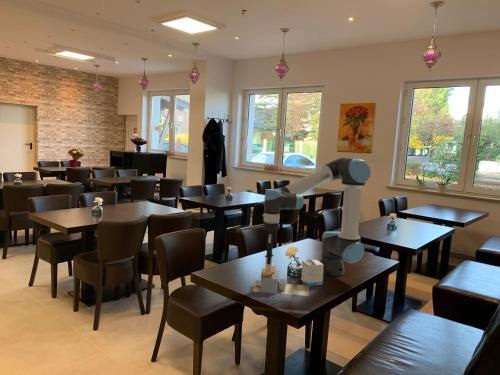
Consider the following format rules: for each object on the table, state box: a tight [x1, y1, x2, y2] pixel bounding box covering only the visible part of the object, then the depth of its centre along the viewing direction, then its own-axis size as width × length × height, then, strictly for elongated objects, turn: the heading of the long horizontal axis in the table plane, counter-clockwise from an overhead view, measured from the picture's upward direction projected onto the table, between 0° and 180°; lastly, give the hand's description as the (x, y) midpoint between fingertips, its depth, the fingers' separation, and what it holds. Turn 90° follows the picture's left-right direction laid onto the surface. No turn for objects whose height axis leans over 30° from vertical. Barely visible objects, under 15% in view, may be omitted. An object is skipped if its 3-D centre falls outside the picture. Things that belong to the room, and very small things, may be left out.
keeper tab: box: [260, 265, 277, 278], centre depth 180 cm, size 7×10×1 cm
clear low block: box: [255, 278, 287, 291], centre depth 180 cm, size 14×6×4 cm, turn 84°
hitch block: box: [259, 270, 280, 294], centre depth 180 cm, size 8×12×6 cm, turn 174°
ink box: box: [300, 257, 324, 287], centre depth 190 cm, size 9×8×13 cm
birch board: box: [251, 280, 311, 297], centre depth 180 cm, size 27×13×1 cm, turn 84°
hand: (268, 269), depth 179 cm, fingers closed
